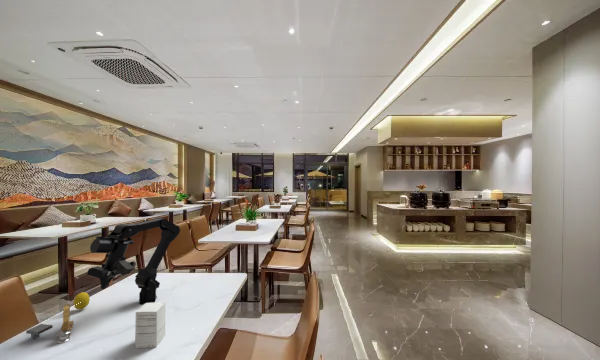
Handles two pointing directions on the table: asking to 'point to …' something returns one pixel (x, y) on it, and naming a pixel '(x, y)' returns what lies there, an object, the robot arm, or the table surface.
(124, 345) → the table surface
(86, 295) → the lemon
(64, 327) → the link
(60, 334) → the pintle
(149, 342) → the supplement box
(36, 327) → the block
